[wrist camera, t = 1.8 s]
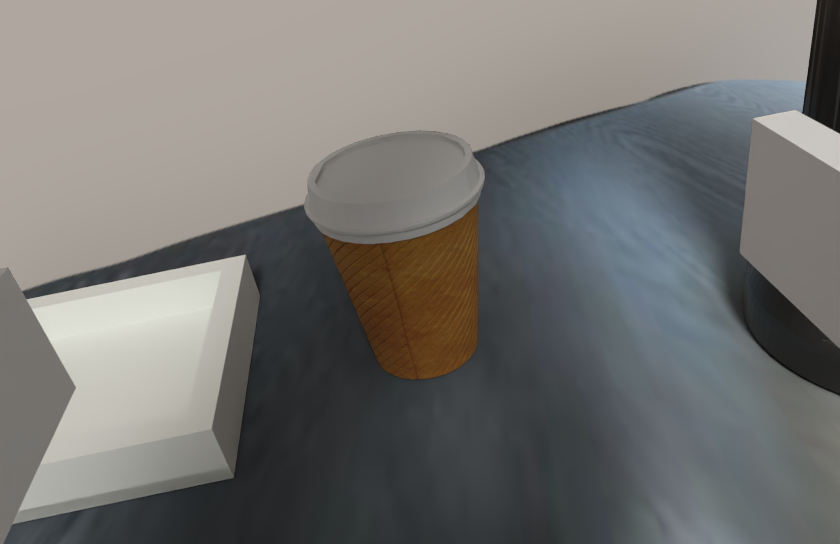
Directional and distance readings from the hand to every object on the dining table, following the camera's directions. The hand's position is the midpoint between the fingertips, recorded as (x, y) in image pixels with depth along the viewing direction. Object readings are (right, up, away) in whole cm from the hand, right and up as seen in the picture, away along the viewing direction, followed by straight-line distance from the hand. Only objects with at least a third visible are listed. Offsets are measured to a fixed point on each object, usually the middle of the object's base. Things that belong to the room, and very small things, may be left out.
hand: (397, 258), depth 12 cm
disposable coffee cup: (+1, -5, +29) cm, 30 cm away
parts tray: (-21, -9, +30) cm, 37 cm away
